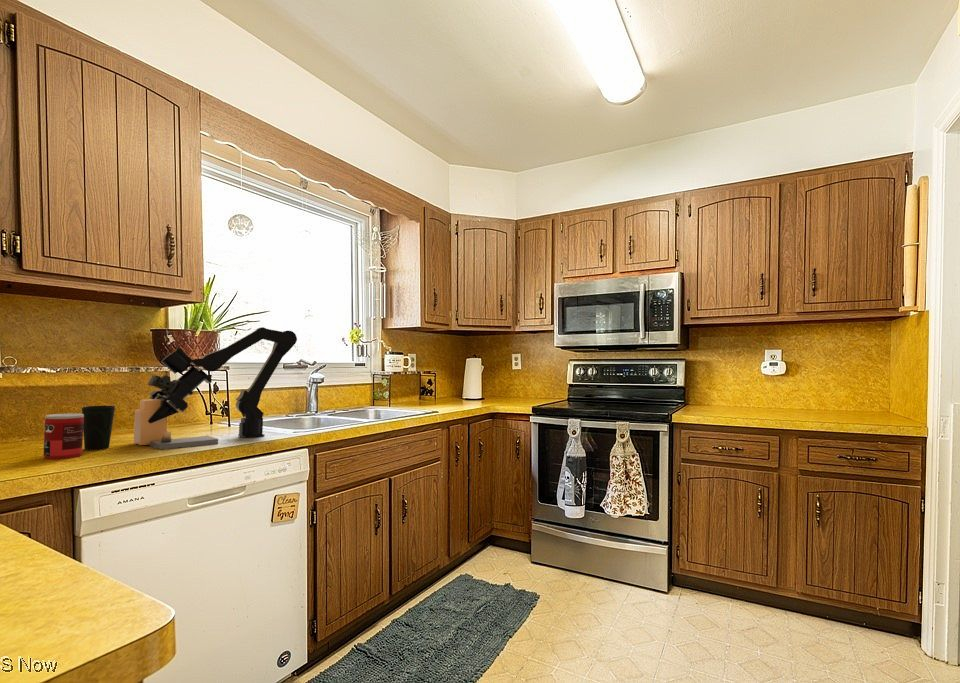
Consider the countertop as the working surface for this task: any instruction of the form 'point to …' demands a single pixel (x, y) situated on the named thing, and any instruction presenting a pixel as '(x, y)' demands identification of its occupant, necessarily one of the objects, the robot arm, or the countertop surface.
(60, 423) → the canned food
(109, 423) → the cup
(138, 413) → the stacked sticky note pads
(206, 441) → the board
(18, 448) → the countertop surface
